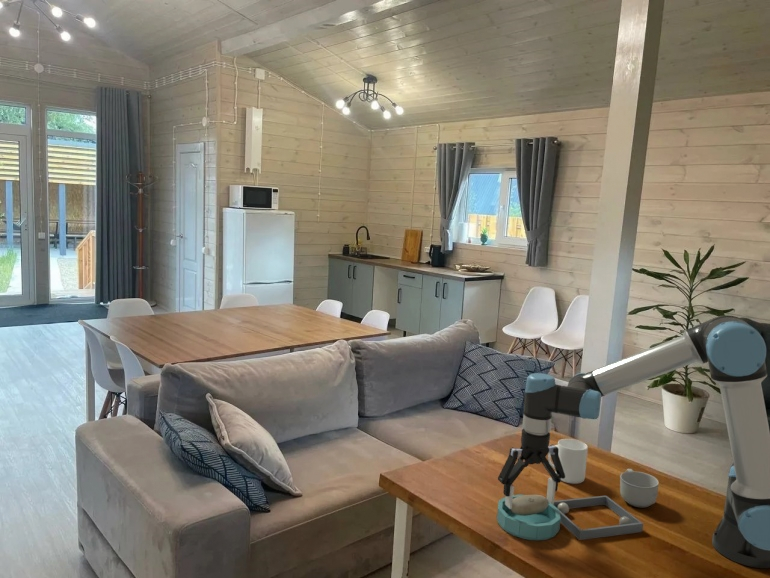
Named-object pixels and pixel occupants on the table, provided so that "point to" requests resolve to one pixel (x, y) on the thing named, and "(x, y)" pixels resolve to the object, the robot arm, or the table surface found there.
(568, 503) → the tray
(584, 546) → the table surface
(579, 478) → the mug
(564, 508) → the white round ball
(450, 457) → the table surface
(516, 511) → the stone
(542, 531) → the bowl
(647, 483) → the teacup
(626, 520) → the pebble
